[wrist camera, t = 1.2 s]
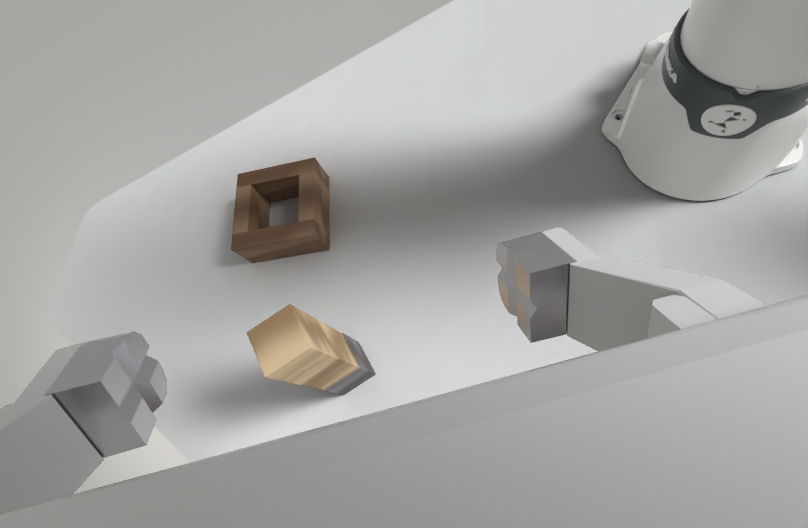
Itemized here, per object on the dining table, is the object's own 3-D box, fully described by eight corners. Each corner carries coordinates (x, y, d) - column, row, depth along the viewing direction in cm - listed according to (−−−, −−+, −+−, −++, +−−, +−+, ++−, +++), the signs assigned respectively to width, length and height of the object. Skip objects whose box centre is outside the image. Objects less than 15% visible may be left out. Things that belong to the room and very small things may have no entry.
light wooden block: (375, 374, 46) (311, 347, 32) (343, 395, 46) (265, 378, 32) (358, 342, 48) (289, 303, 33) (327, 362, 48) (245, 332, 33)
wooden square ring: (329, 249, 53) (313, 234, 49) (252, 262, 55) (231, 249, 51) (329, 177, 57) (314, 157, 53) (257, 192, 59) (237, 174, 55)
